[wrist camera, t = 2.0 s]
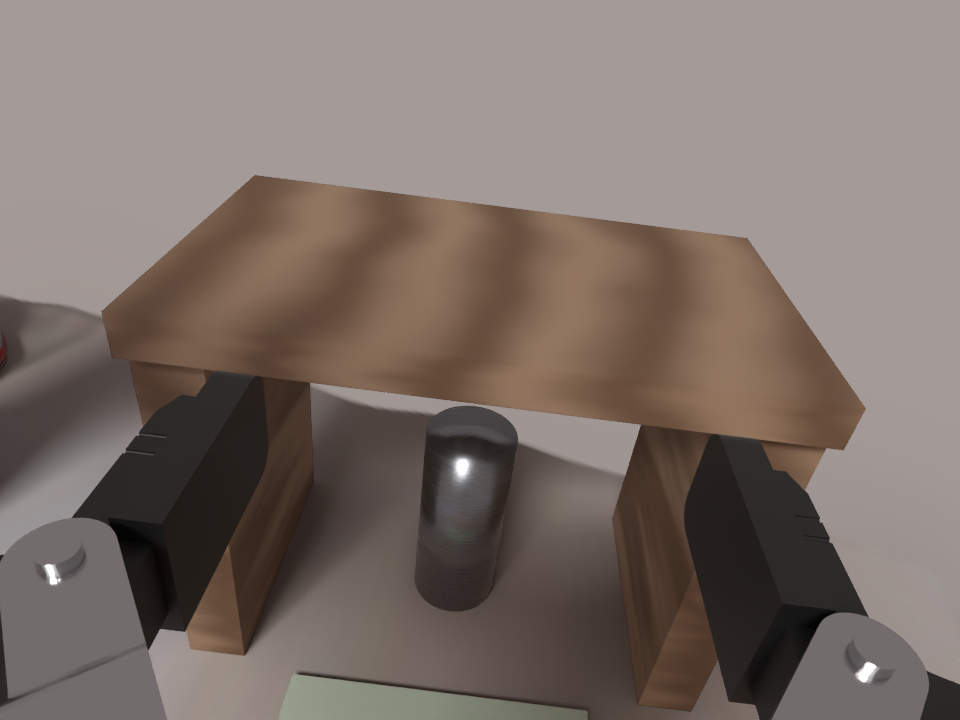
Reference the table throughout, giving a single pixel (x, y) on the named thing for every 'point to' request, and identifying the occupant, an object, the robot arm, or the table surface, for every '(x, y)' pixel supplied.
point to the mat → (402, 704)
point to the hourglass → (2, 349)
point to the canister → (463, 505)
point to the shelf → (487, 365)
